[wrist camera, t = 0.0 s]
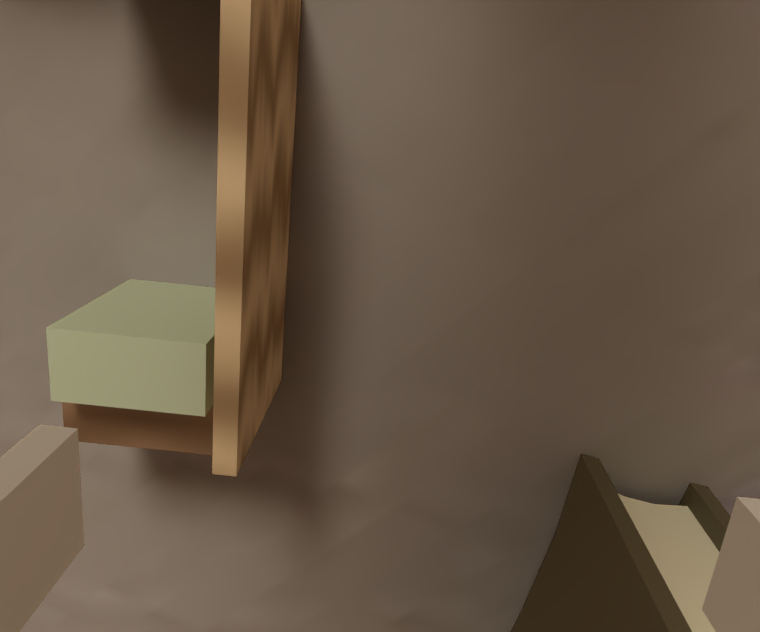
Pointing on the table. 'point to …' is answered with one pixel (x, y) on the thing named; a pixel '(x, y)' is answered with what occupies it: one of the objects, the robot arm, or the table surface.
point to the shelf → (236, 246)
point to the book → (626, 561)
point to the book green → (137, 349)
